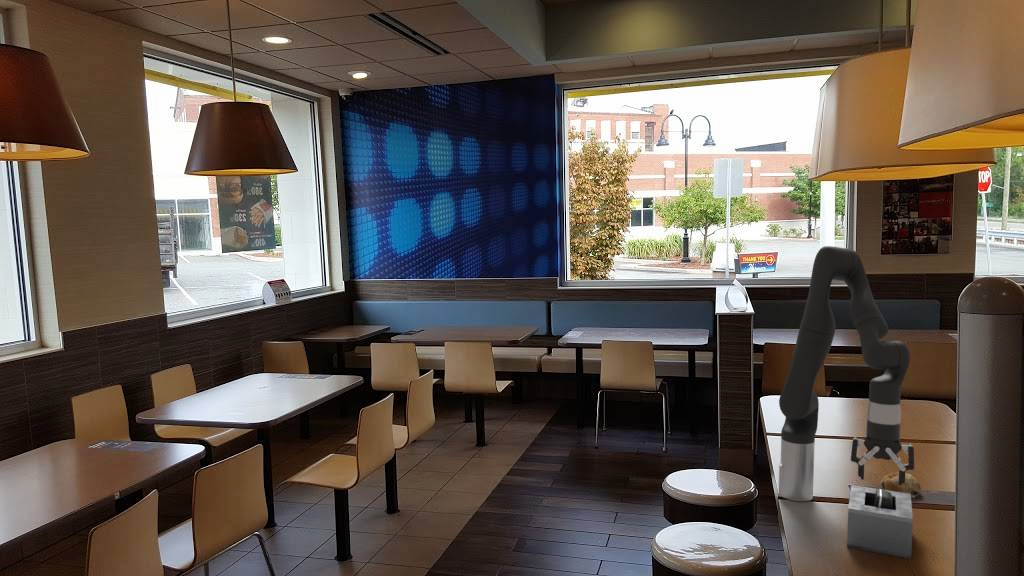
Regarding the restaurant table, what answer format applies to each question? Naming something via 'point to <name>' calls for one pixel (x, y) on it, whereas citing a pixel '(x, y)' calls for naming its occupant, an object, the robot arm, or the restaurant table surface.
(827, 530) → the restaurant table surface
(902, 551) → the box
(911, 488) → the bread roll
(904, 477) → the robot arm
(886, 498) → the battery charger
